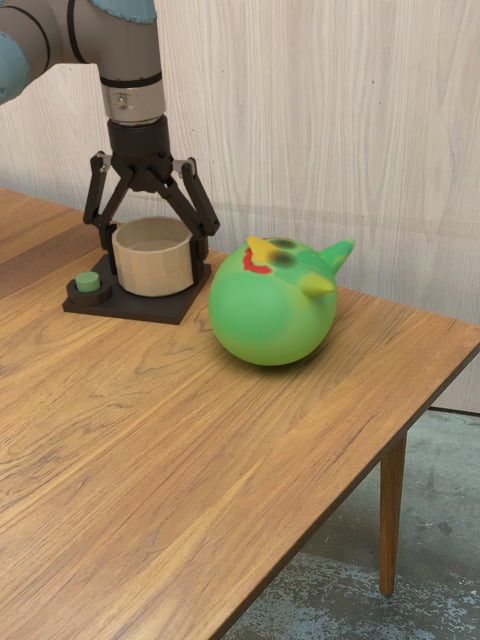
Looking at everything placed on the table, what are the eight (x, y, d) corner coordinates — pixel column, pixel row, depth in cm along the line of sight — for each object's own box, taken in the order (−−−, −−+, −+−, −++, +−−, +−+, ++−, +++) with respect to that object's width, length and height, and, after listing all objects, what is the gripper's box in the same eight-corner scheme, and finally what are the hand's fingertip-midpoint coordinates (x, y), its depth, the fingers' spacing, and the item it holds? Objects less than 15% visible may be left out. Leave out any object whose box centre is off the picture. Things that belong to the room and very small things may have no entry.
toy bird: (231, 307, 108) (224, 205, 98) (352, 317, 106) (357, 213, 96) (197, 383, 96) (185, 275, 86) (333, 397, 93) (337, 287, 83)
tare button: (73, 291, 108) (71, 281, 107) (83, 280, 110) (81, 270, 109) (94, 294, 107) (92, 283, 106) (104, 282, 109) (102, 272, 108)
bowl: (107, 295, 109) (98, 249, 104) (137, 257, 117) (130, 213, 112) (183, 303, 107) (177, 256, 102) (208, 264, 115) (204, 219, 110)
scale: (63, 312, 109) (58, 293, 107) (105, 261, 119) (102, 243, 117) (178, 326, 105) (176, 306, 103) (212, 272, 116) (210, 253, 114)
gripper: (34, 120, 96) (69, 279, 111) (220, 132, 91) (231, 296, 106) (61, 100, 102) (91, 254, 116) (237, 111, 97) (245, 270, 112)
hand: (158, 274), depth 111 cm, fingers open, 12 cm apart
